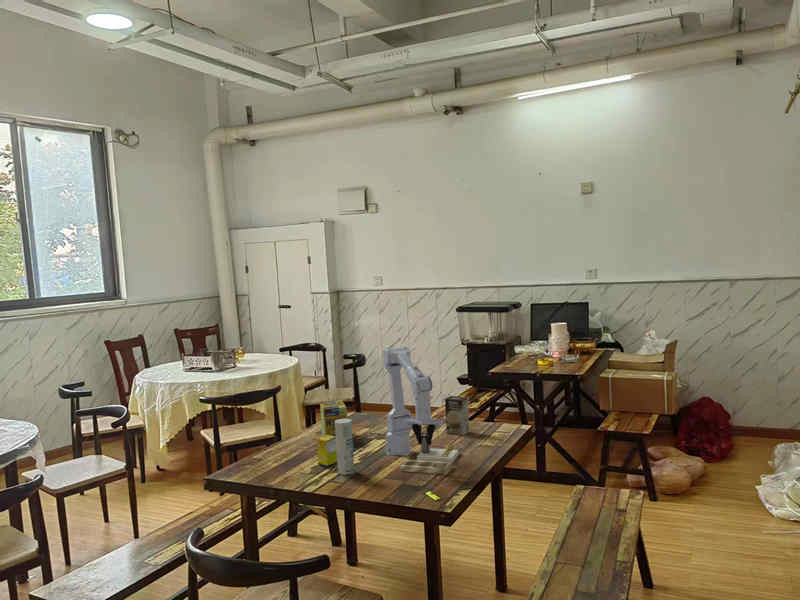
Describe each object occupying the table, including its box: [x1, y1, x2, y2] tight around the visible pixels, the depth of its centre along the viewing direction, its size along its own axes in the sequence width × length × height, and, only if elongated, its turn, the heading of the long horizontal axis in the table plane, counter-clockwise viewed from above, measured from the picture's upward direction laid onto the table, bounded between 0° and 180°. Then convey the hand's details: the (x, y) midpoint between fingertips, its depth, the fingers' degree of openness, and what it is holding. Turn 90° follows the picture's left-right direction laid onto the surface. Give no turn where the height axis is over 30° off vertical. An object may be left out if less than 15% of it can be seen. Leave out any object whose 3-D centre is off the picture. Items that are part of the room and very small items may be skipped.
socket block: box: [416, 447, 459, 465], centre depth 245 cm, size 14×11×2 cm
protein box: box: [319, 399, 348, 437], centre depth 283 cm, size 10×15×16 cm
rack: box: [400, 459, 452, 475], centre depth 233 cm, size 18×7×2 cm, turn 71°
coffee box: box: [444, 395, 470, 436], centre depth 280 cm, size 9×6×16 cm
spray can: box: [335, 418, 355, 476], centre depth 236 cm, size 6×6×20 cm
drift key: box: [442, 443, 456, 457], centre depth 246 cm, size 4×11×4 cm, turn 161°
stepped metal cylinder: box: [420, 431, 431, 454], centre depth 233 cm, size 3×3×8 cm
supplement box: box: [316, 435, 338, 468], centre depth 247 cm, size 6×6×11 cm
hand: (424, 444), depth 233 cm, fingers closed on stepped metal cylinder, 3 cm apart
